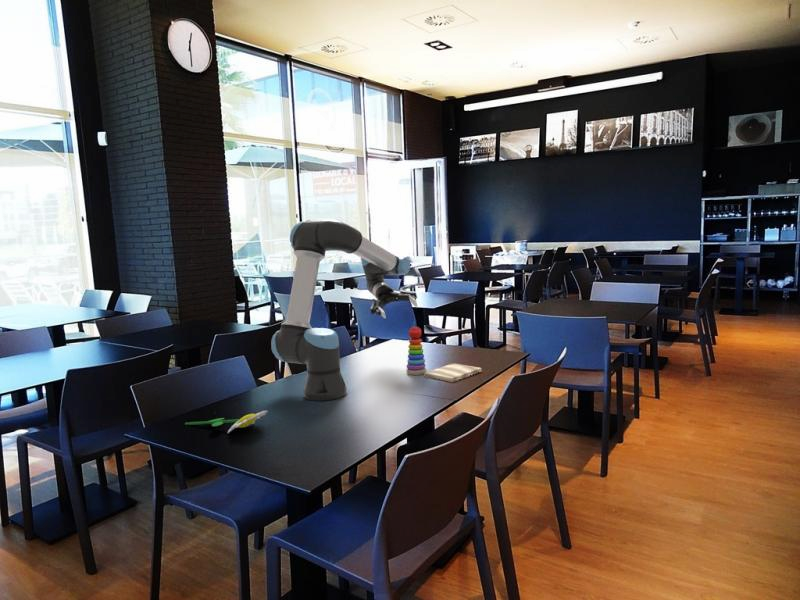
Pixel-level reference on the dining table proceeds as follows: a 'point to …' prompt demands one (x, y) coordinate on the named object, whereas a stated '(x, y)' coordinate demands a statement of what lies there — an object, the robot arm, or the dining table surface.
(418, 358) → the stacking toy
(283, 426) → the dining table surface
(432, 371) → the folded striped towel
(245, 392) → the dining table surface
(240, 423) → the decorative flower
